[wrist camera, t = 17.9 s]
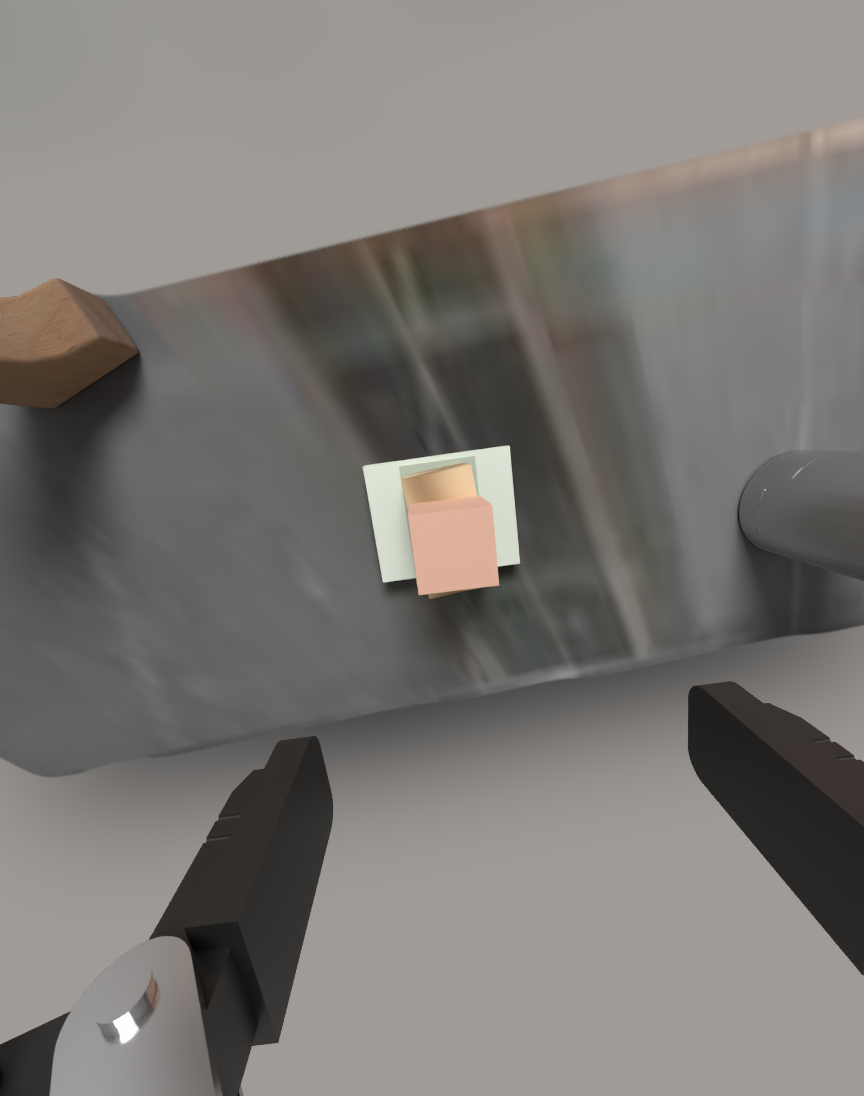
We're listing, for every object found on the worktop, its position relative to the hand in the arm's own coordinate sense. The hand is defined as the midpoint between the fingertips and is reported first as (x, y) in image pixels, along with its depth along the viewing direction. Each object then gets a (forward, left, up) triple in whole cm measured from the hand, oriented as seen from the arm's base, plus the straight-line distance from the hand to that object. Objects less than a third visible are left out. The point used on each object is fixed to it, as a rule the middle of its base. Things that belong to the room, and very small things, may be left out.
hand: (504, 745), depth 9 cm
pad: (0, -1, -29) cm, 29 cm away
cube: (0, 0, -21) cm, 21 cm away
